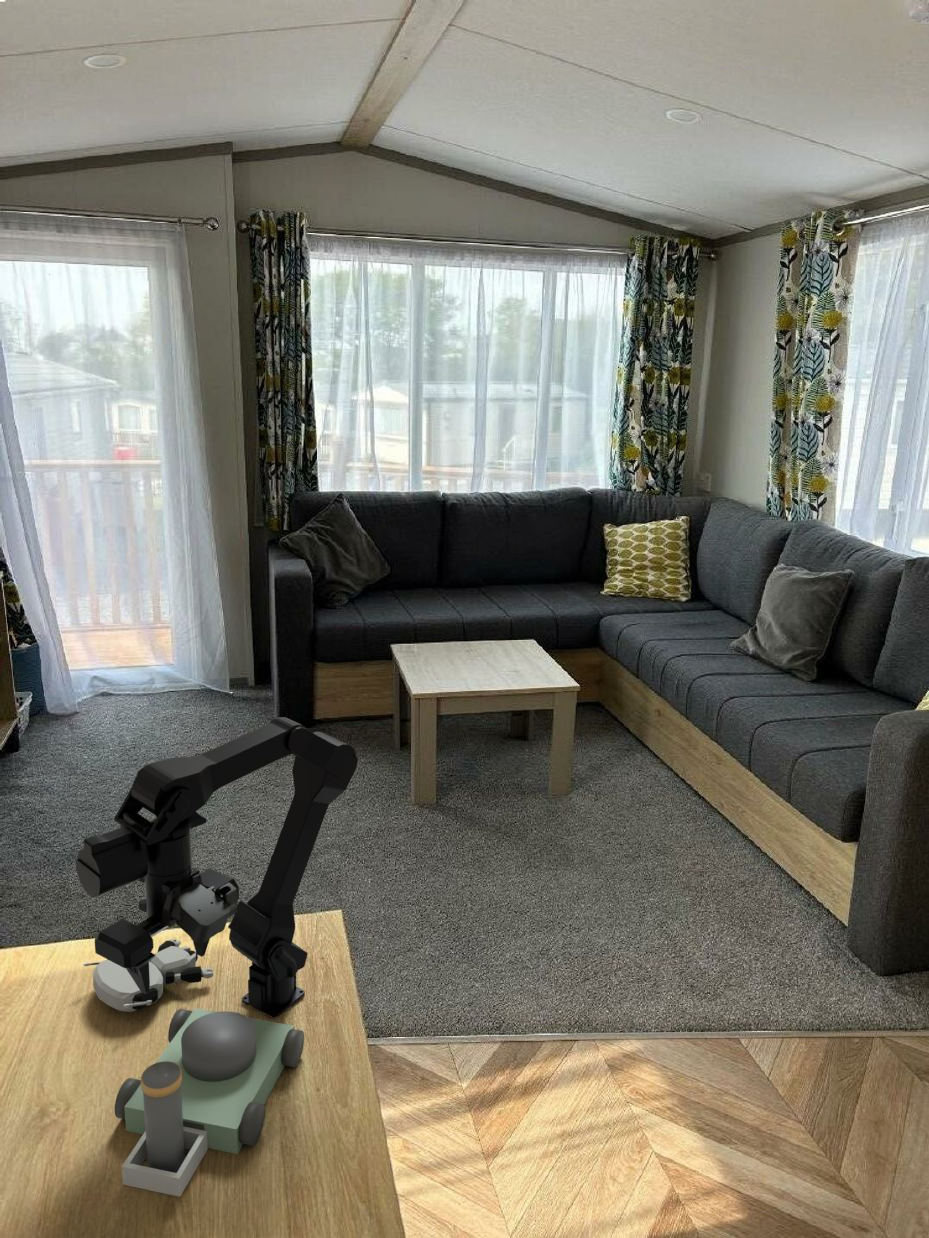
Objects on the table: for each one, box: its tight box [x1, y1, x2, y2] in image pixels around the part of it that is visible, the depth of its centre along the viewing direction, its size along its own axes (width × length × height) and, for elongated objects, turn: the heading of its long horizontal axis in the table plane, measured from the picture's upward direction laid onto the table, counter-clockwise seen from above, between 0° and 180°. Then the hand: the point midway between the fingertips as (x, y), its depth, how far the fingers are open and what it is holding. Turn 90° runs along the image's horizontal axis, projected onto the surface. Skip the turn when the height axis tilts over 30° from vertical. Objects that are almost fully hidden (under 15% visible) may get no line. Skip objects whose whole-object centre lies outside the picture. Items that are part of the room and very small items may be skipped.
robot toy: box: [82, 938, 214, 1013], centre depth 141 cm, size 12×4×15 cm
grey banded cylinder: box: [140, 1061, 186, 1173], centre depth 110 cm, size 4×4×12 cm
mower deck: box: [114, 1007, 305, 1198], centre depth 119 cm, size 25×17×6 cm
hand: (173, 973), depth 126 cm, fingers open, 9 cm apart
